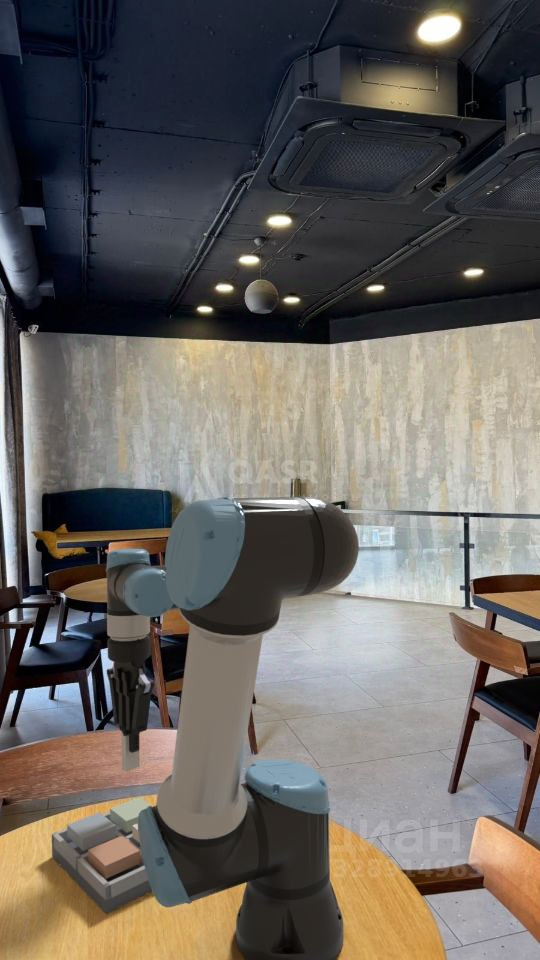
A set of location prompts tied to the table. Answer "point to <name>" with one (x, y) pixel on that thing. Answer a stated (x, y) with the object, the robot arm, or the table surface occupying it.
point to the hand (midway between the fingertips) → (130, 767)
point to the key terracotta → (113, 856)
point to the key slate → (91, 831)
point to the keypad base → (98, 888)
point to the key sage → (128, 813)
